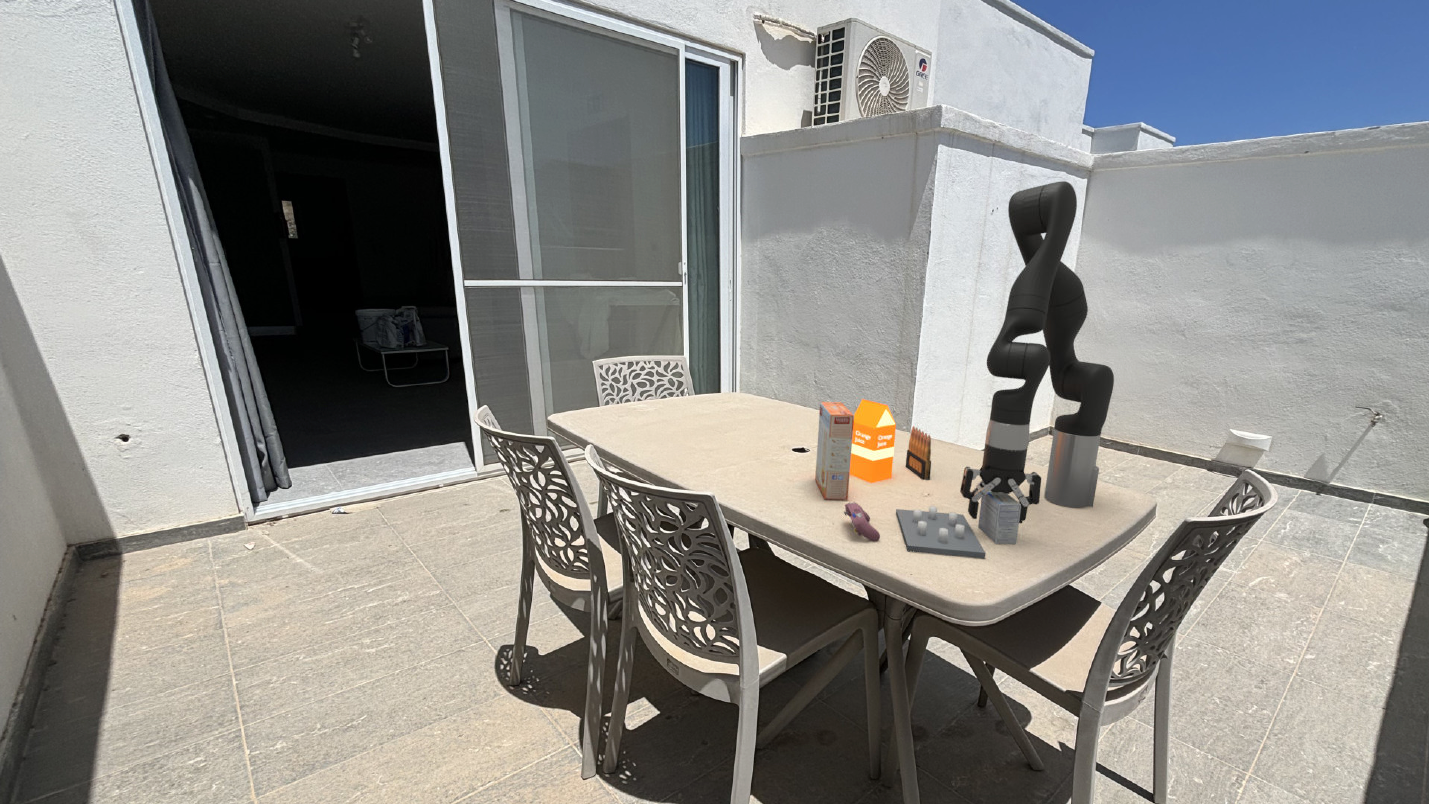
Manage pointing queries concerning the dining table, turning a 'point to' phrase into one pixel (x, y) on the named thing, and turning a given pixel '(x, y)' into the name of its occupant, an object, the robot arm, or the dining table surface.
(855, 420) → the orange juice
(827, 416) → the cracker box
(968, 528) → the stub jig
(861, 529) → the video game controller
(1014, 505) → the medicine box
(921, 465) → the ammunition clip
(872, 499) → the dining table surface
